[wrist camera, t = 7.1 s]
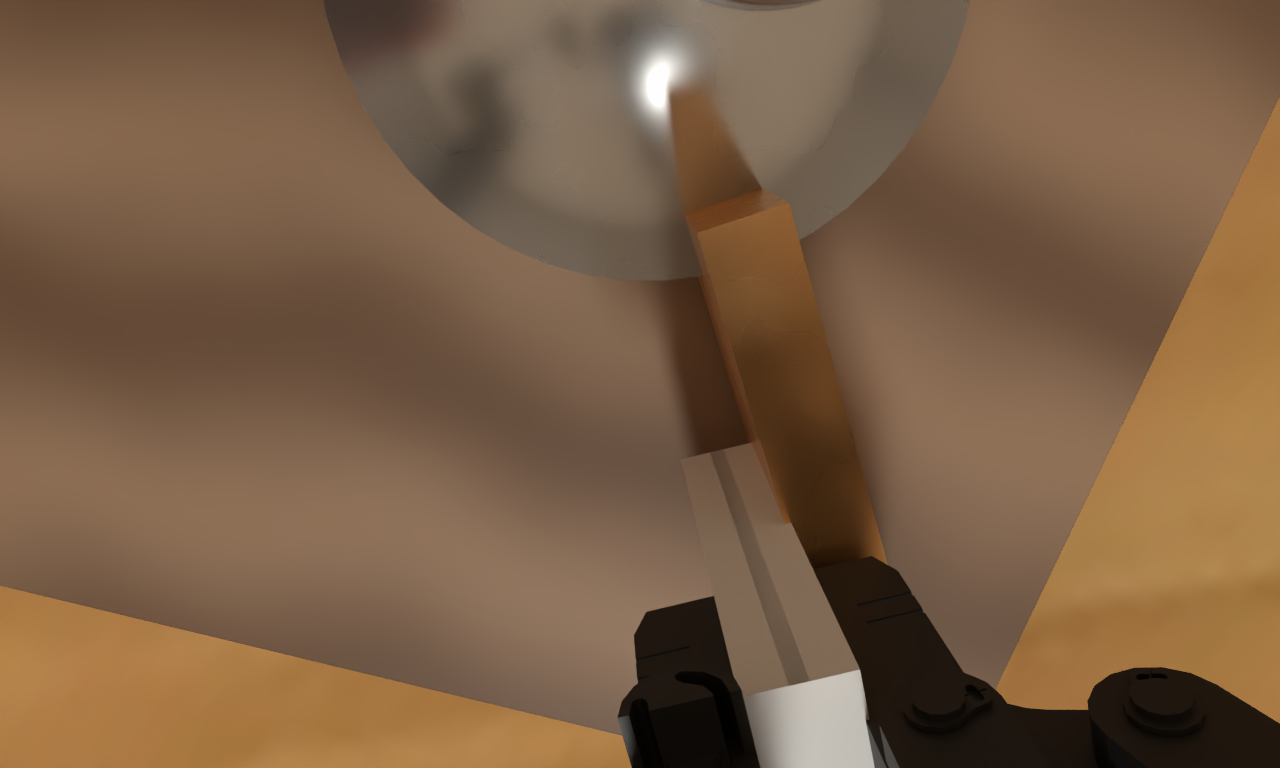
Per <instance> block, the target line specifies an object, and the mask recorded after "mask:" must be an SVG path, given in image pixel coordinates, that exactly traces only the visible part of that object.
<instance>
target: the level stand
mask: <svg viewBox="0 0 1280 768" xmlns="http://www.w3.org/2000/svg"><path fill="white" fill-rule="evenodd" d="M1279 97H1280V0H970V3H969V8H968V12H967V17H966V21H965V25H964V29H963V32H962V34H961V37H960V40H959V43H958V46H957V48H956V51H955V54H954V57H953V60H952V62H951V65H950V68H949V71H948V73H947V75H946V77H945V79H944V81H943V83H942V85H941V87H940V89H939V91H938V93H937V95H936V97H935V99H934V101H933V103H932V105H931V107H930V109H929V111H928V112H927V114H926V115H925V117H924V118H923V120H922V121H921V123H920V125H919V126H918V128H917V129H916V131H915V132H914V134H913V135H912V137H911V138H910V140H909V141H908V143H907V144H906V146H905V147H904V148H903V150H902V151H901V152H900V153H899V154H898V156H897V157H896V158H895V159H894V160H893V162H892V163H891V164H890V165H889V166H888V168H887V169H886V170H885V171H884V172H883V174H882V175H881V176H880V177H879V178H878V179H877V180H876V181H875V182H874V183H873V184H872V185H871V186H870V187H869V188H868V189H867V190H866V191H865V192H864V193H862V194H861V195H860V196H859V197H858V198H857V199H856V200H855V201H854V202H853V203H852V204H851V205H850V206H849V207H848V208H846V209H845V210H843V211H842V212H841V213H839V214H838V215H837V216H835V217H834V218H832V219H831V220H830V221H828V222H827V223H826V224H824V225H823V226H821V227H820V228H819V229H817V230H816V231H815V232H813V233H811V234H809V235H807V236H806V237H804V238H802V239H800V240H799V241H800V244H801V248H802V252H803V255H804V259H805V263H806V267H807V270H808V274H809V278H810V281H811V285H812V289H813V292H814V296H815V300H816V303H817V307H818V311H819V314H820V318H821V322H822V325H823V329H824V333H825V336H826V340H827V344H828V347H829V351H830V355H831V358H832V362H833V366H834V369H835V373H836V377H837V380H838V384H839V388H840V391H841V395H842V399H843V402H844V406H845V410H846V413H847V417H848V421H849V424H850V428H851V432H852V435H853V439H854V443H855V446H856V450H857V454H858V457H859V461H860V465H861V468H862V472H863V476H864V479H865V483H866V487H867V490H868V494H869V498H870V501H871V505H872V509H873V512H874V516H875V520H876V523H877V527H878V531H879V534H880V538H881V542H882V545H883V549H884V553H885V557H886V560H887V564H888V565H889V566H891V567H892V568H894V569H896V570H898V572H899V573H900V575H901V576H902V578H903V579H904V581H905V582H906V584H907V585H908V587H909V589H910V590H911V592H912V595H914V596H915V598H916V599H917V601H918V602H919V604H920V606H921V607H922V609H923V612H924V613H926V615H927V616H928V618H929V619H930V621H931V623H932V624H933V626H934V627H935V629H936V630H937V632H938V633H939V635H940V636H941V638H942V640H943V641H944V643H945V644H946V646H947V647H948V649H949V650H950V652H951V653H952V655H953V657H954V658H955V660H956V661H957V663H958V664H959V666H960V667H961V669H962V670H963V672H964V673H967V674H969V675H971V676H974V677H976V678H978V679H981V680H983V681H985V682H987V683H988V684H989V685H990V686H992V687H993V688H994V689H996V687H997V685H998V683H999V680H1000V678H1001V676H1002V674H1003V672H1004V670H1005V668H1006V666H1007V664H1008V662H1009V660H1010V658H1011V655H1012V653H1013V651H1014V649H1015V647H1016V645H1017V643H1018V641H1019V639H1020V637H1021V635H1022V633H1023V630H1024V628H1025V626H1026V624H1027V622H1028V620H1029V618H1030V616H1031V614H1032V612H1033V610H1034V608H1035V605H1036V603H1037V601H1038V599H1039V597H1040V595H1041V593H1042V591H1043V589H1044V587H1045V585H1046V583H1047V580H1048V578H1049V576H1050V574H1051V572H1052V570H1053V568H1054V566H1055V564H1056V562H1057V560H1058V557H1059V555H1060V553H1061V551H1062V549H1063V547H1064V545H1065V543H1066V541H1067V539H1068V537H1069V535H1070V532H1071V530H1072V528H1073V526H1074V524H1075V522H1076V520H1077V518H1078V516H1079V514H1080V512H1081V510H1082V507H1083V505H1084V503H1085V501H1086V499H1087V497H1088V495H1089V493H1090V491H1091V489H1092V487H1093V485H1094V482H1095V480H1096V478H1097V476H1098V474H1099V472H1100V470H1101V468H1102V466H1103V464H1104V462H1105V460H1106V457H1107V455H1108V453H1109V451H1110V449H1111V447H1112V445H1113V443H1114V441H1115V439H1116V437H1117V435H1118V432H1119V430H1120V428H1121V426H1122V424H1123V422H1124V420H1125V418H1126V416H1127V414H1128V412H1129V410H1130V407H1131V405H1132V403H1133V401H1134V399H1135V397H1136V395H1137V393H1138V391H1139V389H1140V387H1141V384H1142V382H1143V380H1144V378H1145V376H1146V374H1147V372H1148V370H1149V368H1150V366H1151V364H1152V362H1153V359H1154V357H1155V355H1156V353H1157V351H1158V349H1159V347H1160V345H1161V343H1162V341H1163V339H1164V337H1165V334H1166V332H1167V330H1168V328H1169V326H1170V324H1171V322H1172V320H1173V318H1174V316H1175V314H1176V312H1177V309H1178V307H1179V305H1180V303H1181V301H1182V299H1183V297H1184V295H1185V293H1186V291H1187V289H1188V287H1189V284H1190V282H1191V280H1192V278H1193V276H1194V274H1195V272H1196V270H1197V268H1198V266H1199V264H1200V262H1201V259H1202V257H1203V255H1204V253H1205V251H1206V249H1207V247H1208V245H1209V243H1210V241H1211V239H1212V236H1213V234H1214V232H1215V230H1216V228H1217V226H1218V224H1219V222H1220V220H1221V218H1222V216H1223V214H1224V211H1225V209H1226V207H1227V205H1228V203H1229V201H1230V199H1231V197H1232V195H1233V193H1234V191H1235V189H1236V186H1237V184H1238V182H1239V180H1240V178H1241V176H1242V174H1243V172H1244V170H1245V168H1246V166H1247V164H1248V161H1249V159H1250V157H1251V155H1252V153H1253V151H1254V149H1255V147H1256V145H1257V143H1258V141H1259V139H1260V136H1261V134H1262V132H1263V130H1264V128H1265V126H1266V124H1267V122H1268V120H1269V118H1270V116H1271V114H1272V111H1273V109H1274V107H1275V105H1276V103H1277V101H1278V99H1279ZM748 443H749V442H748V438H747V435H746V432H745V429H744V426H743V422H742V419H741V416H740V413H739V409H738V406H737V403H736V400H735V396H734V393H733V390H732V387H731V383H730V380H729V377H728V374H727V370H726V367H725V364H724V361H723V358H722V354H721V351H720V348H719V345H718V341H717V338H716V335H715V332H714V328H713V325H712V322H711V319H710V315H709V312H708V309H707V306H706V303H705V299H704V296H703V293H702V290H701V286H700V283H699V280H698V277H689V278H681V279H673V280H665V281H662V280H620V279H613V278H606V277H598V276H591V275H585V274H581V273H578V272H574V271H570V270H567V269H563V268H560V267H556V266H552V265H549V264H546V263H543V262H541V261H539V260H536V259H534V258H531V257H529V256H527V255H524V254H522V253H520V252H517V251H515V250H512V249H510V248H508V247H507V246H505V245H503V244H501V243H500V242H498V241H496V240H494V239H493V238H491V237H489V236H487V235H486V234H484V233H482V232H481V231H479V230H477V229H475V228H474V227H473V226H471V225H470V224H469V223H467V222H466V221H465V220H463V219H462V218H461V217H459V216H458V215H457V214H455V213H454V212H453V211H451V210H450V209H449V208H447V207H446V206H445V205H444V204H442V203H441V202H440V201H439V200H438V199H437V198H436V197H435V196H434V195H433V194H432V193H431V192H430V191H429V190H428V189H427V188H426V187H425V186H424V185H423V184H422V183H420V182H419V181H418V180H417V179H416V178H415V177H414V176H413V175H412V174H411V173H410V171H409V170H408V169H407V168H406V166H405V165H404V164H403V163H402V161H401V160H400V159H399V158H398V156H397V155H396V154H395V153H394V151H393V150H392V149H391V148H390V146H389V145H388V144H387V143H386V142H385V140H384V139H383V137H382V136H381V134H380V132H379V131H378V129H377V128H376V126H375V124H374V123H373V121H372V120H371V118H370V116H369V115H368V113H367V112H366V110H365V108H364V107H363V105H362V104H361V102H360V100H359V98H358V96H357V93H356V91H355V89H354V87H353V85H352V83H351V81H350V79H349V76H348V74H347V72H346V70H345V68H344V66H343V64H342V61H341V59H340V56H339V53H338V50H337V47H336V44H335V41H334V38H333V35H332V31H331V28H330V25H329V22H328V19H327V16H326V11H325V6H324V2H323V0H0V586H4V587H9V588H13V589H17V590H21V591H25V592H29V593H33V594H38V595H42V596H46V597H50V598H54V599H58V600H62V601H67V602H71V603H75V604H79V605H83V606H87V607H92V608H96V609H100V610H104V611H108V612H112V613H116V614H121V615H125V616H129V617H133V618H137V619H141V620H145V621H150V622H154V623H158V624H162V625H166V626H170V627H174V628H179V629H183V630H187V631H191V632H195V633H199V634H204V635H208V636H212V637H216V638H220V639H224V640H228V641H233V642H237V643H241V644H245V645H249V646H253V647H257V648H262V649H266V650H270V651H274V652H278V653H282V654H286V655H291V656H295V657H299V658H303V659H307V660H311V661H316V662H320V663H324V664H328V665H332V666H336V667H340V668H345V669H349V670H353V671H357V672H361V673H365V674H369V675H374V676H378V677H382V678H386V679H390V680H394V681H398V682H403V683H407V684H411V685H415V686H419V687H423V688H428V689H432V690H436V691H440V692H444V693H448V694H452V695H457V696H461V697H465V698H469V699H473V700H477V701H481V702H486V703H490V704H494V705H498V706H502V707H506V708H510V709H515V710H519V711H523V712H527V713H531V714H535V715H540V716H544V717H548V718H552V719H556V720H560V721H564V722H569V723H573V724H577V725H581V726H585V727H589V728H593V729H598V730H602V731H606V732H610V733H614V734H618V735H622V732H621V728H620V725H619V722H618V714H619V710H620V706H621V702H622V700H623V699H624V698H625V697H626V695H627V694H628V693H629V692H630V690H631V689H632V688H633V687H634V686H635V685H636V684H637V683H638V680H637V671H636V658H635V645H634V634H635V632H636V630H637V628H638V627H639V625H640V623H641V621H642V619H643V617H644V615H645V613H646V612H648V611H652V610H656V609H660V608H664V607H669V606H673V605H677V604H681V603H686V602H690V601H694V600H698V599H702V598H707V597H711V596H714V594H713V590H712V586H711V582H710V578H709V574H708V570H707V565H706V561H705V557H704V553H703V549H702V545H701V541H700V537H699V532H698V528H697V524H696V520H695V516H694V512H693V508H692V504H691V499H690V495H689V491H688V487H687V483H686V479H685V475H684V471H683V466H682V462H681V459H685V458H689V457H693V456H697V455H701V454H706V453H710V452H714V451H718V450H722V449H727V448H731V447H735V446H739V445H744V444H748ZM622 736H623V735H622Z"/></svg>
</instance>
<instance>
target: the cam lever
mask: <svg viewBox="0 0 1280 768" xmlns="http://www.w3.org/2000/svg"><path fill="white" fill-rule="evenodd" d="M323 2H324V6H325V11H326V16H327V19H328V22H329V25H330V28H331V31H332V35H333V38H334V41H335V44H336V47H337V50H338V53H339V56H340V59H341V61H342V64H343V66H344V68H345V70H346V72H347V74H348V76H349V79H350V81H351V83H352V85H353V87H354V89H355V91H356V93H357V96H358V98H359V100H360V102H361V104H362V105H363V107H364V108H365V110H366V112H367V113H368V115H369V116H370V118H371V120H372V121H373V123H374V124H375V126H376V128H377V129H378V131H379V132H380V134H381V136H382V137H383V139H384V140H385V142H386V143H387V144H388V145H389V146H390V148H391V149H392V150H393V151H394V153H395V154H396V155H397V156H398V158H399V159H400V160H401V161H402V163H403V164H404V165H405V166H406V168H407V169H408V170H409V171H410V173H411V174H412V175H413V176H414V177H415V178H416V179H417V180H418V181H419V182H420V183H422V184H423V185H424V186H425V187H426V188H427V189H428V190H429V191H430V192H431V193H432V194H433V195H434V196H435V197H436V198H437V199H438V200H439V201H440V202H441V203H442V204H444V205H445V206H446V207H447V208H449V209H450V210H451V211H453V212H454V213H455V214H457V215H458V216H459V217H461V218H462V219H463V220H465V221H466V222H467V223H469V224H470V225H471V226H473V227H474V228H475V229H477V230H479V231H481V232H482V233H484V234H486V235H487V236H489V237H491V238H493V239H494V240H496V241H498V242H500V243H501V244H503V245H505V246H507V247H508V248H510V249H512V250H515V251H517V252H520V253H522V254H524V255H527V256H529V257H531V258H534V259H536V260H539V261H541V262H543V263H546V264H549V265H552V266H556V267H560V268H563V269H567V270H570V271H574V272H578V273H581V274H585V275H591V276H598V277H606V278H613V279H620V280H662V281H665V280H673V279H681V278H689V277H698V280H699V283H700V286H701V290H702V293H703V296H704V299H705V303H706V306H707V309H708V312H709V315H710V319H711V322H712V325H713V328H714V332H715V335H716V338H717V341H718V345H719V348H720V351H721V354H722V358H723V361H724V364H725V367H726V370H727V374H728V377H729V380H730V383H731V387H732V390H733V393H734V396H735V400H736V403H737V406H738V409H739V413H740V416H741V419H742V422H743V426H744V429H745V432H746V435H747V438H748V442H749V443H752V445H753V447H754V450H755V452H756V454H757V457H758V459H759V462H760V464H761V466H762V469H763V471H764V474H765V476H766V478H767V481H768V483H769V486H770V488H771V490H772V493H773V495H774V498H775V500H776V502H777V505H778V507H779V510H780V512H781V514H782V517H783V519H784V522H785V524H788V523H791V524H792V526H793V528H794V530H795V532H796V534H797V536H798V539H799V541H800V543H801V545H802V547H803V549H804V551H805V553H806V556H807V558H808V560H809V562H810V564H811V566H812V568H813V570H815V569H819V568H823V567H827V566H832V565H836V564H840V563H844V562H848V561H853V560H857V559H861V558H865V557H869V556H873V557H875V558H876V559H878V560H880V561H882V562H884V563H885V564H887V560H886V557H885V553H884V549H883V545H882V542H881V538H880V534H879V531H878V527H877V523H876V520H875V516H874V512H873V509H872V505H871V501H870V498H869V494H868V490H867V487H866V483H865V479H864V476H863V472H862V468H861V465H860V461H859V457H858V454H857V450H856V446H855V443H854V439H853V435H852V432H851V428H850V424H849V421H848V417H847V413H846V410H845V406H844V402H843V399H842V395H841V391H840V388H839V384H838V380H837V377H836V373H835V369H834V366H833V362H832V358H831V355H830V351H829V347H828V344H827V340H826V336H825V333H824V329H823V325H822V322H821V318H820V314H819V311H818V307H817V303H816V300H815V296H814V292H813V289H812V285H811V281H810V278H809V274H808V270H807V267H806V263H805V259H804V255H803V252H802V248H801V244H800V241H799V240H800V239H802V238H804V237H806V236H807V235H809V234H811V233H813V232H815V231H816V230H817V229H819V228H820V227H821V226H823V225H824V224H826V223H827V222H828V221H830V220H831V219H832V218H834V217H835V216H837V215H838V214H839V213H841V212H842V211H843V210H845V209H846V208H848V207H849V206H850V205H851V204H852V203H853V202H854V201H855V200H856V199H857V198H858V197H859V196H860V195H861V194H862V193H864V192H865V191H866V190H867V189H868V188H869V187H870V186H871V185H872V184H873V183H874V182H875V181H876V180H877V179H878V178H879V177H880V176H881V175H882V174H883V172H884V171H885V170H886V169H887V168H888V166H889V165H890V164H891V163H892V162H893V160H894V159H895V158H896V157H897V156H898V154H899V153H900V152H901V151H902V150H903V148H904V147H905V146H906V144H907V143H908V141H909V140H910V138H911V137H912V135H913V134H914V132H915V131H916V129H917V128H918V126H919V125H920V123H921V121H922V120H923V118H924V117H925V115H926V114H927V112H928V111H929V109H930V107H931V105H932V103H933V101H934V99H935V97H936V95H937V93H938V91H939V89H940V87H941V85H942V83H943V81H944V79H945V77H946V75H947V73H948V71H949V68H950V65H951V62H952V60H953V57H954V54H955V51H956V48H957V46H958V43H959V40H960V37H961V34H962V32H963V29H964V25H965V21H966V17H967V12H968V8H969V3H970V0H323ZM887 565H888V564H887Z"/></svg>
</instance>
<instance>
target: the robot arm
mask: <svg viewBox="0 0 1280 768" xmlns="http://www.w3.org/2000/svg"><path fill="white" fill-rule="evenodd" d="M681 462H682V466H683V471H684V475H685V479H686V483H687V487H688V491H689V495H690V499H691V504H692V508H693V512H694V516H695V520H696V524H697V528H698V532H699V537H700V541H701V545H702V549H703V553H704V557H705V561H706V565H707V570H708V574H709V578H710V582H711V586H712V590H713V594H714V596H711V597H707V598H702V599H698V600H694V601H690V602H686V603H681V604H677V605H673V606H669V607H664V608H660V609H656V610H652V611H648V612H646V613H645V615H644V617H643V619H642V621H641V623H640V625H639V627H638V628H637V630H636V632H635V634H634V645H635V658H636V671H637V680H638V683H637V684H636V685H635V686H634V687H633V688H632V689H631V690H630V692H629V693H628V694H627V695H626V697H625V698H624V699H623V700H622V702H621V706H620V710H619V714H618V722H619V725H620V728H621V732H622V735H623V739H624V742H625V745H626V749H627V752H628V756H629V759H630V762H631V766H632V768H1280V724H1279V723H1278V722H1276V721H1274V720H1273V719H1271V718H1270V717H1268V716H1266V715H1265V714H1263V713H1262V712H1260V711H1258V710H1257V709H1255V708H1253V707H1252V706H1250V705H1249V704H1247V703H1245V702H1244V701H1242V700H1240V699H1239V698H1237V697H1236V696H1234V695H1232V694H1231V693H1229V692H1227V691H1226V690H1224V689H1223V688H1221V687H1219V686H1218V685H1216V684H1214V683H1212V682H1209V681H1207V680H1205V679H1203V678H1200V677H1198V676H1196V675H1194V674H1192V673H1187V672H1182V671H1177V670H1172V669H1167V668H1163V667H1159V668H1132V669H1129V670H1125V671H1121V672H1117V673H1114V674H1111V675H1109V676H1108V677H1106V678H1105V679H1104V680H1102V681H1101V682H1099V683H1098V684H1096V685H1095V686H1094V688H1093V690H1092V693H1091V695H1090V697H1089V699H1088V710H1043V709H1030V708H1023V707H1019V706H1015V705H1011V704H1007V703H1006V701H1005V700H1004V699H1003V697H1002V696H1001V695H1000V694H999V693H998V692H997V691H996V690H995V689H994V688H993V687H992V686H990V685H989V684H988V683H987V682H985V681H983V680H981V679H978V678H976V677H974V676H971V675H969V674H967V673H964V672H963V670H962V669H961V667H960V666H959V664H958V663H957V661H956V660H955V658H954V657H953V655H952V653H951V652H950V650H949V649H948V647H947V646H946V644H945V643H944V641H943V640H942V638H941V636H940V635H939V633H938V632H937V630H936V629H935V627H934V626H933V624H932V623H931V621H930V619H929V618H928V616H927V615H926V613H924V612H923V609H922V607H921V606H920V604H919V602H918V601H917V599H916V598H915V596H914V595H912V592H911V590H910V589H909V587H908V585H907V584H906V582H905V581H904V579H903V578H902V576H901V575H900V573H899V572H898V570H896V569H894V568H892V567H891V566H889V565H887V564H885V563H884V562H882V561H880V560H878V559H876V558H875V557H873V556H869V557H865V558H861V559H857V560H853V561H848V562H844V563H840V564H836V565H832V566H827V567H823V568H819V569H815V570H813V568H812V566H811V564H810V562H809V560H808V558H807V556H806V553H805V551H804V549H803V547H802V545H801V543H800V541H799V539H798V536H797V534H796V532H795V530H794V528H793V526H792V524H791V523H788V524H785V522H784V519H783V517H782V514H781V512H780V510H779V507H778V505H777V502H776V500H775V498H774V495H773V493H772V490H771V488H770V486H769V483H768V481H767V478H766V476H765V474H764V471H763V469H762V466H761V464H760V462H759V459H758V457H757V454H756V452H755V450H754V447H753V445H752V443H748V444H744V445H739V446H735V447H731V448H727V449H722V450H718V451H714V452H710V453H706V454H701V455H697V456H693V457H689V458H685V459H681Z"/></svg>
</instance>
